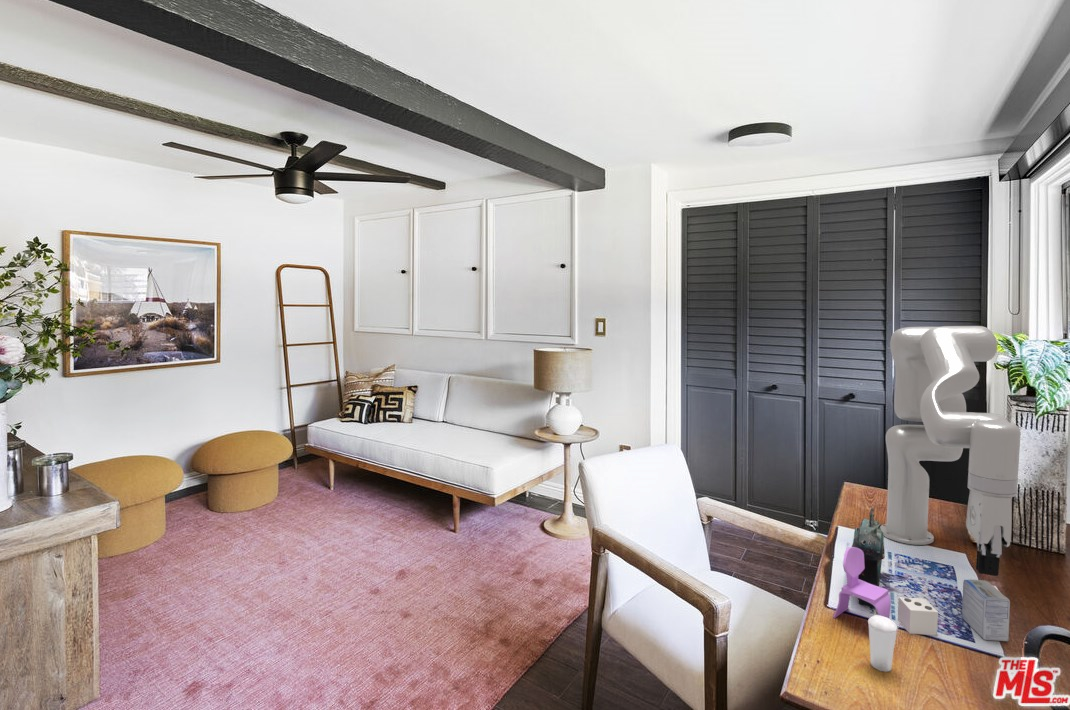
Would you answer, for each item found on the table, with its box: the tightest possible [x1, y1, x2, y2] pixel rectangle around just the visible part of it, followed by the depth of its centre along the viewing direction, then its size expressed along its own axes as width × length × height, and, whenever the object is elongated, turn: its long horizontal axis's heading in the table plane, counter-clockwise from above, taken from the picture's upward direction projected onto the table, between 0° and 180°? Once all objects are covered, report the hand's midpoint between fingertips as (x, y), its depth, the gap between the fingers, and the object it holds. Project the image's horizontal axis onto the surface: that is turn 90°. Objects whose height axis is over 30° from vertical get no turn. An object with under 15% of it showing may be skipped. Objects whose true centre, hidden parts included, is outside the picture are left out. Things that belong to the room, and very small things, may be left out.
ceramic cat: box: [851, 507, 885, 609], centre depth 128 cm, size 20×6×20 cm, turn 148°
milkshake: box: [867, 614, 902, 673], centre depth 101 cm, size 5×5×10 cm
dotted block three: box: [897, 596, 939, 636], centre depth 113 cm, size 5×5×5 cm
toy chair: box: [832, 546, 892, 619], centre depth 115 cm, size 8×9×15 cm
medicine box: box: [961, 579, 1011, 642], centre depth 112 cm, size 8×4×9 cm, turn 168°
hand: (986, 572), depth 111 cm, fingers closed
